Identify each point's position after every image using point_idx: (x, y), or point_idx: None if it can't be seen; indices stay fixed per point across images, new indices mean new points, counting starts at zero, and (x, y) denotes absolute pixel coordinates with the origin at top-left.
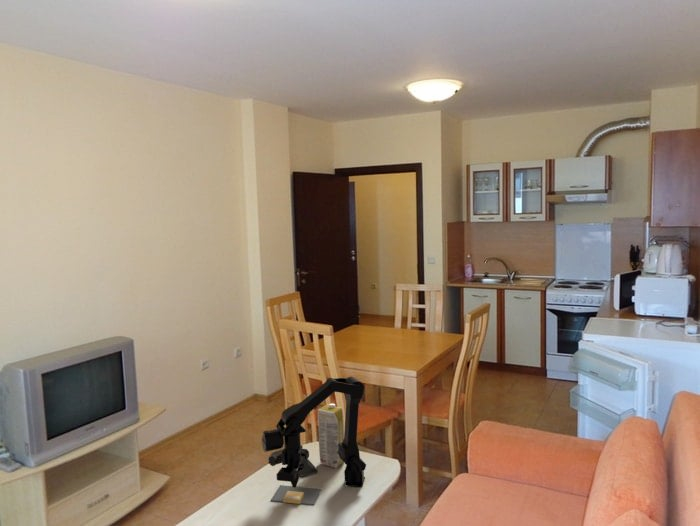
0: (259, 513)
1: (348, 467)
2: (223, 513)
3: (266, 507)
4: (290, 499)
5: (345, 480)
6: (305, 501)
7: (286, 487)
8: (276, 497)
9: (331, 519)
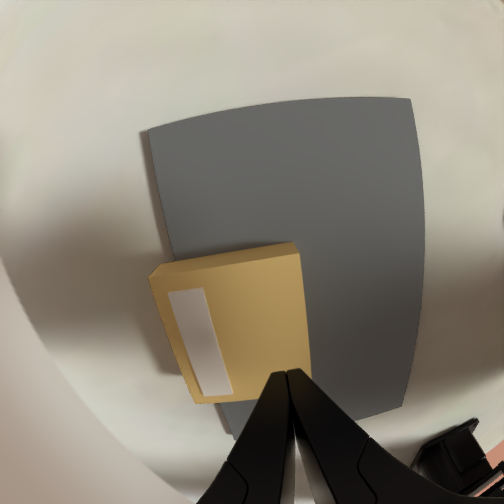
0: (16, 163)
1: (462, 490)
2: (9, 6)
3: (71, 158)
4: (171, 342)
5: (444, 443)
6: (240, 402)
7: (397, 170)
8: (206, 157)
9: (172, 483)
